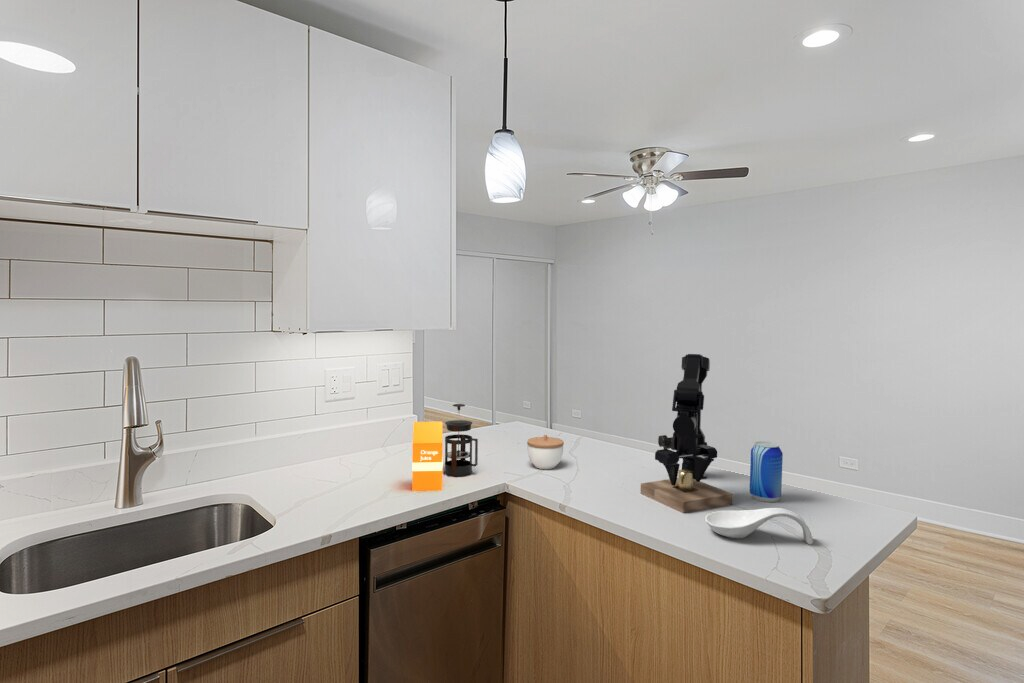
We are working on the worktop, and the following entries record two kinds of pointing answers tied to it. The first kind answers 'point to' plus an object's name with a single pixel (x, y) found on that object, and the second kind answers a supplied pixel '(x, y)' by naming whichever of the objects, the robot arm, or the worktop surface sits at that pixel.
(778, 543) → the worktop surface
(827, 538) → the worktop surface
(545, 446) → the lidded bowl
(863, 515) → the worktop surface
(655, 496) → the walnut jig
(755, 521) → the spoon rest
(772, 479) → the beer can
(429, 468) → the orange juice
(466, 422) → the french press
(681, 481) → the brass sleeve
